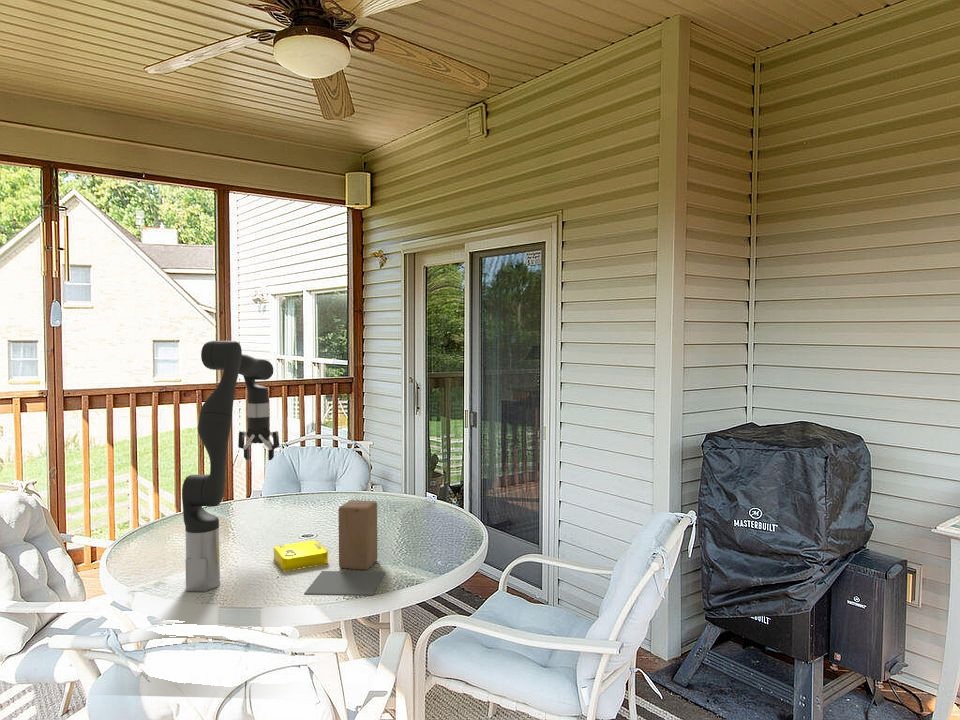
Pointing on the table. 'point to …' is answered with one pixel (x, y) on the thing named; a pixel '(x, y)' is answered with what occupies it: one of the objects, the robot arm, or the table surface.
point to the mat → (345, 583)
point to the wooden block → (357, 534)
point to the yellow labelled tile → (300, 555)
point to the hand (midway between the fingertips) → (259, 459)
